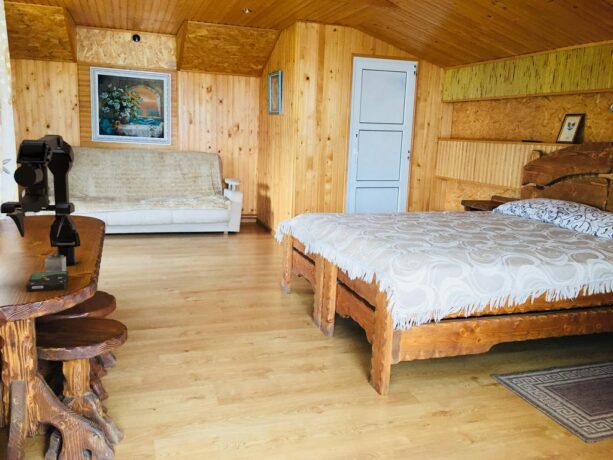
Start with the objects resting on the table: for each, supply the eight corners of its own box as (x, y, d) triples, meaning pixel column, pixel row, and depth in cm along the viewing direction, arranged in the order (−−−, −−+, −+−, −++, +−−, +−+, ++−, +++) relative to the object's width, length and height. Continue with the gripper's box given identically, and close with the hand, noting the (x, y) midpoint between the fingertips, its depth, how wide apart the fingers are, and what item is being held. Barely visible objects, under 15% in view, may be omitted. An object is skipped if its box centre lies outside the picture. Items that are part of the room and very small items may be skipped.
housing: (50, 271, 177) (49, 252, 176) (66, 271, 178) (65, 252, 177) (45, 275, 173) (44, 255, 172) (62, 274, 173) (61, 255, 172)
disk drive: (66, 292, 157) (68, 278, 171) (66, 282, 157) (68, 270, 170) (26, 294, 154) (32, 280, 167) (26, 285, 153) (31, 271, 167)
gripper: (-9, 185, 146) (-6, 242, 149) (64, 187, 150) (66, 242, 152) (6, 182, 157) (9, 235, 160) (74, 183, 160) (76, 235, 163)
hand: (39, 237), depth 158 cm, fingers open, 9 cm apart
